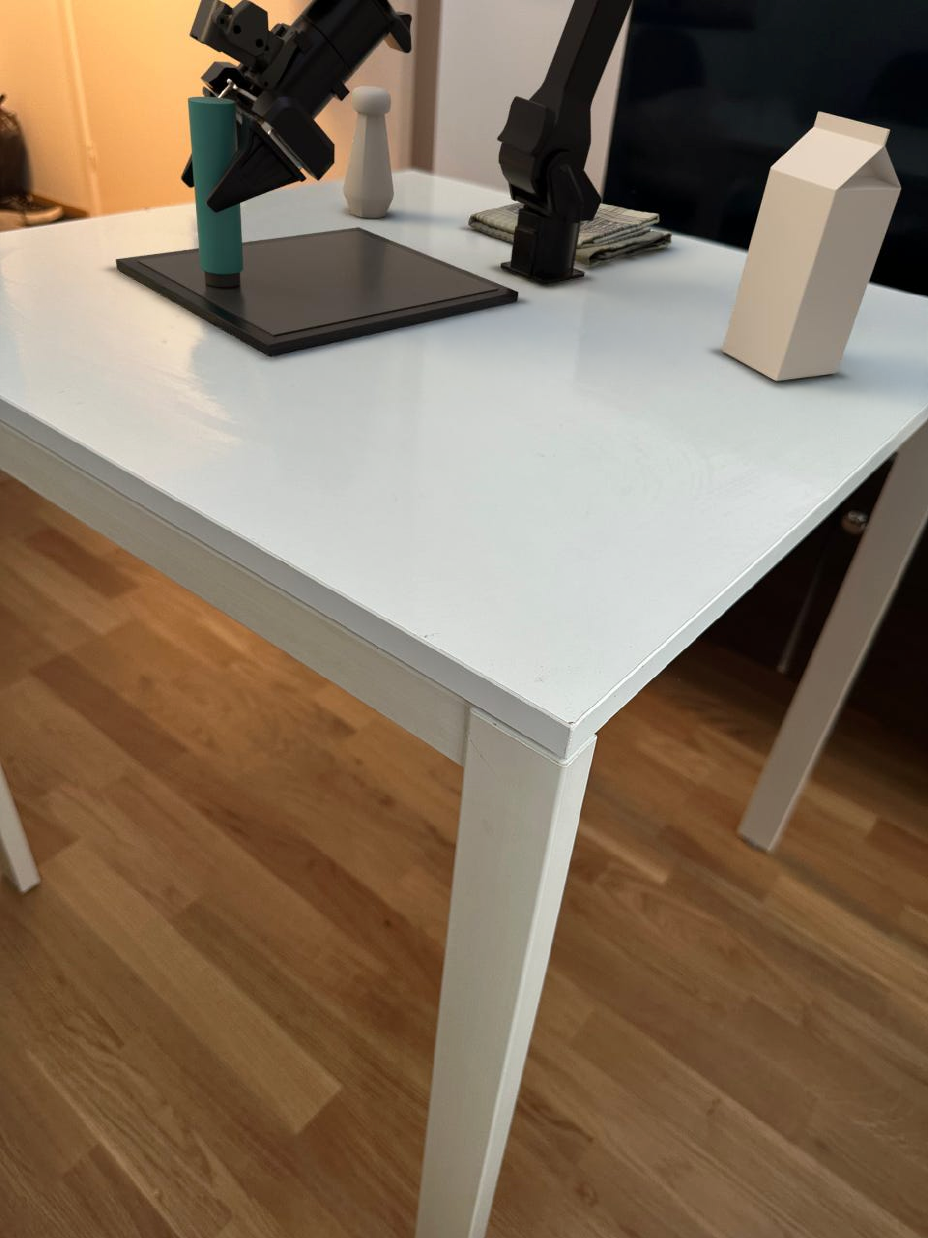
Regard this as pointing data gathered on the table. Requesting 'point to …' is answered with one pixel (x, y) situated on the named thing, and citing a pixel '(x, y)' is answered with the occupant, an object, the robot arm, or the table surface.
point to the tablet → (319, 288)
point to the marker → (210, 159)
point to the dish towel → (587, 231)
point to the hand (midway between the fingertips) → (197, 195)
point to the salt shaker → (369, 155)
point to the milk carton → (813, 250)
